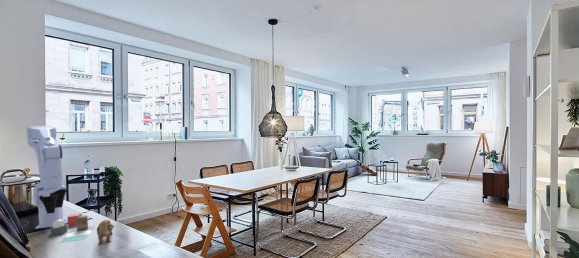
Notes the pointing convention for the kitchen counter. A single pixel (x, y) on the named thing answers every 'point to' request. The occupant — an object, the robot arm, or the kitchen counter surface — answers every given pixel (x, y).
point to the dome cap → (58, 223)
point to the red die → (73, 219)
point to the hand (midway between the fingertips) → (55, 210)
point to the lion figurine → (104, 230)
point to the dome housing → (58, 230)
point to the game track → (77, 234)
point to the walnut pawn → (82, 223)
